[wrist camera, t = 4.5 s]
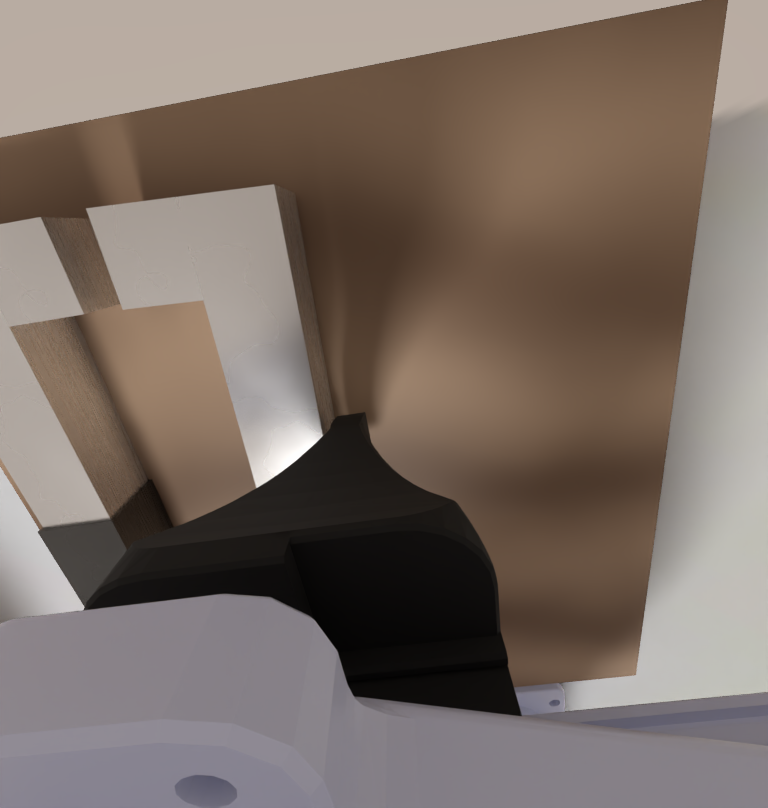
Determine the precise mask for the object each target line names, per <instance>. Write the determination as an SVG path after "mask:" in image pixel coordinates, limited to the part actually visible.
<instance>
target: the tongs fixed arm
mask: <svg viewBox="0 0 768 808" xmlns="http://www.w3.org/2000/svg"><path fill="white" fill-rule="evenodd" d="M119 304H120V301H119V298H118V295H117V293H116V290H115V287H114V284H113V282H112V279H111V276H110V273H109V271H108V268H107V265H106V262H105V260H104V257H103V254H102V251H101V249H100V246H99V243H98V240H97V238H96V235H95V232H94V229H93V227H92V224H91V221H90V219H81V218H55V217H38V218H32V219H27V220H21V221H16V222H10V223H5V224H0V459H1V460H2V462H3V463H4V465H5V467H6V468H7V470H8V472H9V473H10V475H11V476H12V478H13V480H14V481H15V483H16V485H17V486H18V488H19V489H20V491H21V493H22V494H23V496H24V498H25V499H26V501H27V502H28V504H29V506H30V507H31V509H32V511H33V512H34V514H35V515H36V517H37V519H38V520H39V522H40V524H41V525H42V527H43V528H42V529H41V530H39V531H38V533H39V535H40V536H41V538H42V539H43V541H44V543H45V544H46V546H47V547H48V549H49V551H50V552H51V554H52V555H53V557H54V559H55V560H56V562H57V563H58V565H59V567H60V568H61V570H62V571H63V573H64V575H65V576H66V578H67V579H68V581H69V583H70V584H71V586H72V587H73V589H74V591H75V592H76V594H77V595H78V597H79V599H80V600H81V602H82V603H83V605H84V607H85V605H86V602H87V601H88V600H89V598H90V597H91V596H92V594H93V593H94V592H95V591H96V589H97V588H98V587H99V585H100V584H101V583H102V582H103V580H104V579H105V578H106V577H107V575H108V574H109V573H110V571H111V570H112V569H113V568H114V566H115V565H116V564H117V563H118V561H119V560H120V559H121V557H122V556H123V555H124V554H125V552H126V551H127V550H128V549H129V547H130V546H131V545H132V543H133V542H134V541H137V540H140V539H143V538H146V537H148V536H151V535H154V534H157V533H159V532H162V531H165V530H167V529H170V528H173V527H174V526H173V524H172V522H171V520H170V518H169V515H168V513H167V511H166V509H165V507H164V504H163V502H162V500H161V498H160V496H159V493H158V491H157V489H156V487H155V485H154V482H153V480H152V479H149V478H148V476H147V474H146V472H145V469H144V467H143V465H142V463H141V461H140V459H139V456H138V454H137V452H136V450H135V448H134V445H133V443H132V441H131V439H130V437H129V435H128V432H127V430H126V428H125V426H124V424H123V422H122V419H121V417H120V415H119V413H118V411H117V408H116V406H115V404H114V402H113V400H112V398H111V395H110V393H109V391H108V389H107V387H106V384H105V382H104V380H103V378H102V376H101V374H100V371H99V369H98V367H97V365H96V363H95V360H94V358H93V356H92V354H91V352H90V350H89V347H88V345H87V343H86V341H85V339H84V336H83V334H82V332H81V330H80V328H79V326H78V323H77V321H76V319H75V317H74V316H77V315H83V314H87V313H91V312H94V311H98V310H101V309H105V308H108V307H112V306H115V305H119Z"/></svg>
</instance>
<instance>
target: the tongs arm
mask: <svg viewBox="0 0 768 808" xmlns="http://www.w3.org/2000/svg"><path fill="white" fill-rule="evenodd" d="M86 210H87V213H88V216H89V218H90V221H91V224H92V227H93V229H94V232H95V235H96V238H97V240H98V243H99V246H100V249H101V251H102V254H103V257H104V260H105V262H106V265H107V268H108V271H109V273H110V276H111V279H112V282H113V284H114V287H115V290H116V293H117V295H118V298H119V301H120V304H121V306H122V309H123V310H125V309H133V308H142V307H151V306H159V305H168V304H176V303H185V302H194V301H202V300H203V301H204V305H205V308H206V312H207V315H208V319H209V322H210V326H211V329H212V333H213V336H214V340H215V343H216V347H217V350H218V354H219V358H220V361H221V365H222V368H223V372H224V375H225V379H226V382H227V386H228V389H229V393H230V396H231V400H232V403H233V407H234V411H235V414H236V418H237V421H238V425H239V428H240V432H241V435H242V439H243V442H244V446H245V449H246V453H247V456H248V460H249V464H250V467H251V471H252V474H253V478H254V481H255V485H256V488H257V487H259V486H261V485H263V484H264V483H266V482H267V481H269V480H270V479H272V478H273V477H275V476H276V475H278V474H279V473H280V472H282V471H283V470H285V469H286V468H287V467H289V466H290V465H291V464H292V463H294V462H295V461H296V460H297V459H298V458H300V457H301V456H302V455H303V454H304V453H305V452H306V451H307V450H309V449H310V448H311V447H312V446H313V445H314V444H315V443H316V442H317V441H318V440H319V439H320V438H321V437H322V436H323V435H324V434H325V433H326V432H327V431H328V430H329V429H330V427H331V423H332V422H333V420H334V419H335V417H334V412H333V406H332V400H331V395H330V389H329V383H328V378H327V372H326V366H325V361H324V355H323V350H322V344H321V338H320V333H319V327H318V321H317V316H316V310H315V304H314V299H313V293H312V287H311V282H310V276H309V270H308V265H307V259H306V253H305V248H304V242H303V237H302V231H301V225H300V220H299V214H298V208H297V203H296V197H295V193H294V192H291V191H289V190H286V189H284V188H282V187H279V186H277V185H275V184H273V185H265V186H257V187H249V188H242V189H234V190H226V191H218V192H210V193H202V194H195V195H187V196H179V197H171V198H163V199H156V200H148V201H140V202H132V203H124V204H116V205H109V206H101V207H93V208H86Z"/></svg>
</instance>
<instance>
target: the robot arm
mask: <svg viewBox="0 0 768 808" xmlns="http://www.w3.org/2000/svg"><path fill="white" fill-rule="evenodd" d="M564 710H565V693H564V690H563V688H562V685H561V684H559V683H553V684H543V685H533V686H523V687H514V686H513V682H512V679H511V675H510V672H509V668H508V656H507V651H506V647H505V644H504V641H503V637H502V634H501V629H500V611H499V594H498V582H497V577H496V573H495V569H494V566H493V563H492V561H491V559H490V556H489V554H488V552H487V550H486V548H485V546H484V544H483V542H482V540H481V539H480V537H479V535H478V533H477V532H476V530H475V528H474V527H473V525H472V524H471V522H470V520H469V519H468V518H467V516H466V515H465V513H464V512H463V510H462V509H461V507H460V506H459V505H458V503H457V502H455V501H454V500H452V499H449V498H446V497H443V496H440V495H437V494H434V493H432V492H429V491H426V490H424V489H422V488H420V487H418V486H416V485H414V484H413V483H411V482H410V481H408V480H407V479H405V478H404V477H402V476H401V475H400V474H399V473H397V472H396V471H395V470H394V469H393V468H392V467H391V466H390V465H389V464H388V463H387V462H386V461H385V460H384V459H383V458H382V457H381V455H380V454H379V453H378V451H377V450H376V449H375V447H374V446H373V444H372V443H371V439H370V433H369V428H368V423H367V418H366V413H365V412H363V413H356V414H349V415H342V416H337V417H336V418H335V419H334V420H333V422H332V423H331V427H330V429H329V430H328V431H327V432H326V433H325V434H324V435H323V436H322V437H321V438H320V439H319V440H318V441H317V442H316V443H315V444H314V445H313V446H312V447H311V448H310V449H309V450H307V451H306V452H305V453H304V454H303V455H302V456H301V457H300V458H298V459H297V460H296V461H295V462H294V463H292V464H291V465H290V466H289V467H287V468H286V469H285V470H283V471H282V472H280V473H279V474H278V475H276V476H275V477H273V478H272V479H270V480H269V481H267V482H266V483H264V484H263V485H261V486H259V487H257V488H256V489H254V490H252V491H250V492H249V493H247V494H245V495H243V496H242V497H240V498H238V499H236V500H235V501H233V502H231V503H229V504H227V505H224V506H222V507H220V508H218V509H216V510H214V511H212V512H210V513H207V514H205V515H203V516H201V517H198V518H196V519H194V520H191V521H189V522H186V523H184V524H181V525H178V526H176V527H173V528H170V529H167V530H165V531H162V532H159V533H157V534H154V535H151V536H148V537H146V538H143V539H140V540H137V541H134V542H133V543H132V545H131V546H130V547H129V549H128V550H127V551H126V552H125V554H124V555H123V556H122V557H121V559H120V560H119V561H118V563H117V564H116V565H115V566H114V568H113V569H112V570H111V571H110V573H109V574H108V575H107V577H106V578H105V579H104V580H103V582H102V583H101V584H100V585H99V587H98V588H97V589H96V591H95V592H94V593H93V594H92V596H91V597H90V598H89V600H88V601H87V602H86V605H85V608H84V610H83V611H74V612H66V613H57V614H49V615H40V616H32V617H24V618H17V619H11V620H8V621H5V622H3V623H0V808H768V692H764V693H754V694H743V695H733V696H722V697H712V698H701V699H691V700H681V701H670V702H660V703H649V704H639V705H628V706H618V707H607V708H597V709H587V710H576V711H566V712H564Z"/></svg>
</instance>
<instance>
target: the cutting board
mask: <svg viewBox="0 0 768 808" xmlns="http://www.w3.org/2000/svg"><path fill="white" fill-rule="evenodd" d="M727 3H728V0H702V1H696V2H691V3H686V4H681V5H676V6H671V7H666V8H661V9H656V10H650V11H645V12H640V13H635V14H630V15H626V16H620V17H615V18H610V19H605V20H599V21H594V22H589V23H584V24H579V25H574V26H569V27H564V28H559V29H554V30H549V31H543V32H538V33H533V34H528V35H523V36H518V37H513V38H508V39H503V40H497V41H492V42H487V43H482V44H477V45H472V46H467V47H462V48H457V49H451V50H447V51H441V52H436V53H432V54H426V55H421V56H416V57H411V58H406V59H400V60H395V61H390V62H385V63H380V64H375V65H370V66H365V67H360V68H355V69H349V70H344V71H340V72H334V73H330V74H324V75H319V76H314V77H309V78H304V79H298V80H293V81H289V82H284V83H278V84H273V85H268V86H263V87H258V88H252V89H247V90H242V91H237V92H232V93H227V94H222V95H217V96H212V97H206V98H201V99H197V100H191V101H186V102H181V103H176V104H171V105H166V106H161V107H155V108H150V109H145V110H140V111H135V112H130V113H125V114H120V115H115V116H110V117H105V118H100V119H94V120H89V121H84V122H79V123H74V124H69V125H64V126H58V127H54V128H48V129H43V130H38V131H33V132H28V133H23V134H18V135H13V136H7V137H2V138H0V224H5V223H10V222H16V221H21V220H27V219H32V218H38V217H55V218H81V219H90V218H89V216H88V213H87V210H86V208H93V207H101V206H109V205H116V204H124V203H132V202H140V201H148V200H156V199H163V198H171V197H179V196H187V195H195V194H202V193H210V192H218V191H226V190H234V189H242V188H249V187H257V186H265V185H273V184H275V185H277V186H279V187H282V188H284V189H286V190H289V191H291V192H294V193H295V197H296V203H297V208H298V214H299V220H300V225H301V231H302V237H303V242H304V248H305V253H306V259H307V265H308V270H309V276H310V282H311V287H312V293H313V299H314V304H315V310H316V316H317V321H318V327H319V333H320V338H321V344H322V350H323V355H324V361H325V366H326V372H327V378H328V383H329V389H330V395H331V400H332V406H333V412H334V417H335V418H336V417H337V416H342V415H349V414H356V413H363V412H365V413H366V418H367V423H368V428H369V433H370V439H371V443H372V444H373V446H374V447H375V449H376V450H377V451H378V453H379V454H380V455H381V457H382V458H383V459H384V460H385V461H386V462H387V463H388V464H389V465H390V466H391V467H392V468H393V469H394V470H395V471H396V472H397V473H399V474H400V475H401V476H402V477H404V478H405V479H407V480H408V481H410V482H411V483H413V484H414V485H416V486H418V487H420V488H422V489H424V490H426V491H429V492H432V493H434V494H437V495H440V496H443V497H446V498H449V499H452V500H454V501H455V502H457V503H458V505H459V506H460V507H461V509H462V510H463V512H464V513H465V515H466V516H467V518H468V519H469V520H470V522H471V524H472V525H473V527H474V528H475V530H476V532H477V533H478V535H479V537H480V539H481V540H482V542H483V544H484V546H485V548H486V550H487V552H488V554H489V556H490V559H491V561H492V563H493V566H494V569H495V573H496V577H497V582H498V594H499V611H500V629H501V634H502V637H503V641H504V644H505V647H506V651H507V656H508V668H509V672H510V675H511V679H512V682H513V686H514V687H523V686H533V685H543V684H553V683H563V682H572V681H582V680H592V679H602V678H612V677H622V676H632V675H636V669H637V662H638V654H639V647H640V640H641V632H642V625H643V618H644V610H645V603H646V596H647V589H648V581H649V574H650V567H651V559H652V552H653V545H654V537H655V530H656V523H657V515H658V508H659V501H660V494H661V486H662V479H663V472H664V464H665V457H666V450H667V442H668V435H669V428H670V421H671V413H672V406H673V399H674V391H675V384H676V377H677V369H678V362H679V355H680V347H681V340H682V333H683V326H684V318H685V311H686V304H687V296H688V289H689V282H690V274H691V267H692V260H693V252H694V245H695V238H696V231H697V223H698V216H699V209H700V201H701V194H702V187H703V179H704V172H705V165H706V157H707V150H708V143H709V136H710V128H711V121H712V114H713V106H714V99H715V92H716V84H717V77H718V70H719V62H720V55H721V48H722V41H723V33H724V25H725V19H726V11H727ZM74 317H75V319H76V321H77V323H78V326H79V328H80V330H81V332H82V334H83V336H84V339H85V341H86V343H87V345H88V347H89V350H90V352H91V354H92V356H93V358H94V360H95V363H96V365H97V367H98V369H99V371H100V374H101V376H102V378H103V380H104V382H105V384H106V387H107V389H108V391H109V393H110V395H111V398H112V400H113V402H114V404H115V406H116V408H117V411H118V413H119V415H120V417H121V419H122V422H123V424H124V426H125V428H126V430H127V432H128V435H129V437H130V439H131V441H132V443H133V445H134V448H135V450H136V452H137V454H138V456H139V459H140V461H141V463H142V465H143V467H144V469H145V472H146V474H147V476H148V478H149V479H152V480H153V482H154V485H155V487H156V489H157V491H158V493H159V496H160V498H161V500H162V502H163V504H164V507H165V509H166V511H167V513H168V515H169V518H170V520H171V522H172V524H173V526H174V527H176V526H178V525H181V524H184V523H186V522H189V521H191V520H194V519H196V518H198V517H201V516H203V515H205V514H207V513H210V512H212V511H214V510H216V509H218V508H220V507H222V506H224V505H227V504H229V503H231V502H233V501H235V500H236V499H238V498H240V497H242V496H243V495H245V494H247V493H249V492H250V491H252V490H254V489H256V485H255V481H254V478H253V474H252V471H251V467H250V464H249V460H248V456H247V453H246V449H245V446H244V442H243V439H242V435H241V432H240V428H239V425H238V421H237V418H236V414H235V411H234V407H233V403H232V400H231V396H230V393H229V389H228V386H227V382H226V379H225V375H224V372H223V368H222V365H221V361H220V358H219V354H218V350H217V347H216V343H215V340H214V336H213V333H212V329H211V326H210V322H209V319H208V315H207V312H206V308H205V305H204V301H203V300H202V301H194V302H185V303H176V304H168V305H159V306H151V307H142V308H133V309H125V310H123V309H122V306H121V304H119V305H115V306H112V307H108V308H105V309H101V310H98V311H94V312H91V313H87V314H83V315H77V316H74ZM0 467H1V468H2V470H3V471H4V473H5V475H6V476H7V478H8V479H9V481H10V483H11V484H12V486H13V488H14V489H15V491H16V492H17V494H18V496H19V497H20V499H21V500H22V502H23V504H24V505H25V507H26V508H27V510H28V512H29V513H30V515H31V516H32V518H33V520H34V521H35V523H36V525H37V526H38V528H39V529H40V530H41V529H42V528H43V527H42V525H41V524H40V522H39V520H38V519H37V517H36V515H35V514H34V512H33V511H32V509H31V507H30V506H29V504H28V502H27V501H26V499H25V498H24V496H23V494H22V493H21V491H20V489H19V488H18V486H17V485H16V483H15V481H14V480H13V478H12V476H11V475H10V473H9V472H8V470H7V468H6V467H5V465H4V463H3V462H2V460H1V459H0Z"/></svg>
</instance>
